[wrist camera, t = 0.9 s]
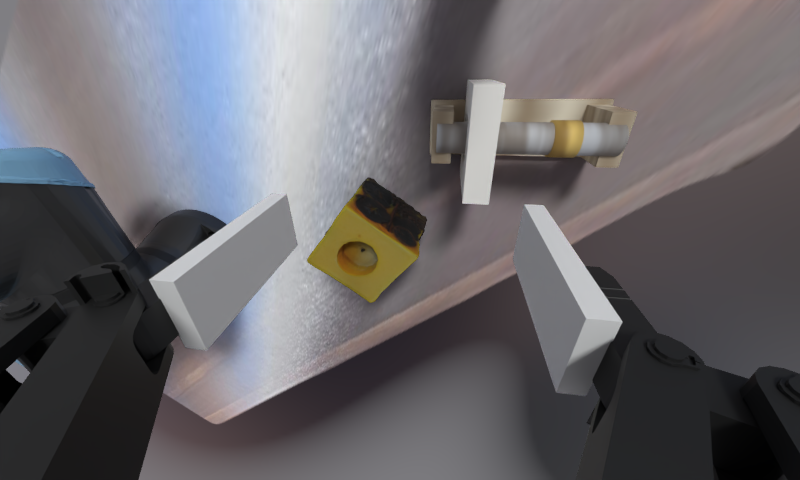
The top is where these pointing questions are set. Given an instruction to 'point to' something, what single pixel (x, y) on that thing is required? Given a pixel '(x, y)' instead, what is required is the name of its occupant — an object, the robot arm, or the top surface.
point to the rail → (537, 116)
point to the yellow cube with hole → (370, 241)
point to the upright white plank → (480, 139)
